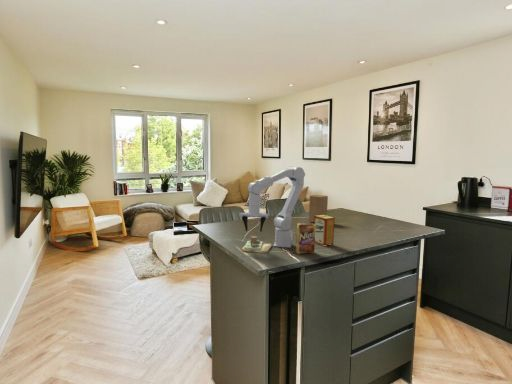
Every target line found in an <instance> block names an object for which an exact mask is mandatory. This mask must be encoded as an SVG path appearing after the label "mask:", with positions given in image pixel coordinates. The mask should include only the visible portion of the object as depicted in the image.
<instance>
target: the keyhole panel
mask: <svg viewBox="0 0 512 384" xmlns="http://www.w3.org/2000/svg"><path fill="white" fill-rule="evenodd" d="M257 240H258V236H257V235H251V237H250V240H247V241H246V243H245V245H244V246H245V247H244V246H243V247H244V249H249V250H261V247H262V244H264V242H263V240H262V241H261V240H260V243H259V244H257ZM253 243H255V244H256V247H253V246H252V244H253ZM258 247H259V248H258Z"/></svg>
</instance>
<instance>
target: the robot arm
mask: <svg viewBox="0 0 512 384" xmlns="http://www.w3.org/2000/svg"><path fill="white" fill-rule="evenodd" d="M305 176H306V172H305V171H304V169H303V168H302V167H300V166H297V167H296V166H288V167H286V168H283V170H281V171H279V172H276V174H275V173H274V174H273V175H271V176H269V175H264V176H263V177H262V178H260V179H256V180H255V182H250V183H249V184H248V186H247V187H246V188H247V191H248V194H249V195H248V212H240V213H239V216H240V218H241V220H242V222H243V224H244V229H245V231H246V232H247V231H248V229H249V228H248V222H249V221H248V220H249V218H256V219H257V218H260V229H259V231H260V232H263V227H264V223H265V221H266V219H268V218H269V214H268V213H262V212H261V211H260V210H261V202H260V201H261V193H262V192H263V191H264V190H266V189H268V188H270V187H273V184H274V183H275V182H278V181H279V180H280V181H281V180H282V179H284V178H289V180H290V181H291V184H292V187H291V188H290V189H291V190H290V192H289V193H288V196H287V199H286V200H285V203H284V205H283V207H282V209H281V211H280V212H278V214H277V215H276V216H275V217H274V219H273V226H274V227H275V233H274V235H275V236H274V244H272V247H276V248H278V247H280V248H292V246H293V230H291V229H290V228H291V227H292V221H293V216H292V213H293V211H294V209H295V206H296V204H297V201H298V199H299V198H300V197H299V196H300V195H301V193H302V191H303V188H304V185H305ZM260 212H261V213H260Z"/></svg>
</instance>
